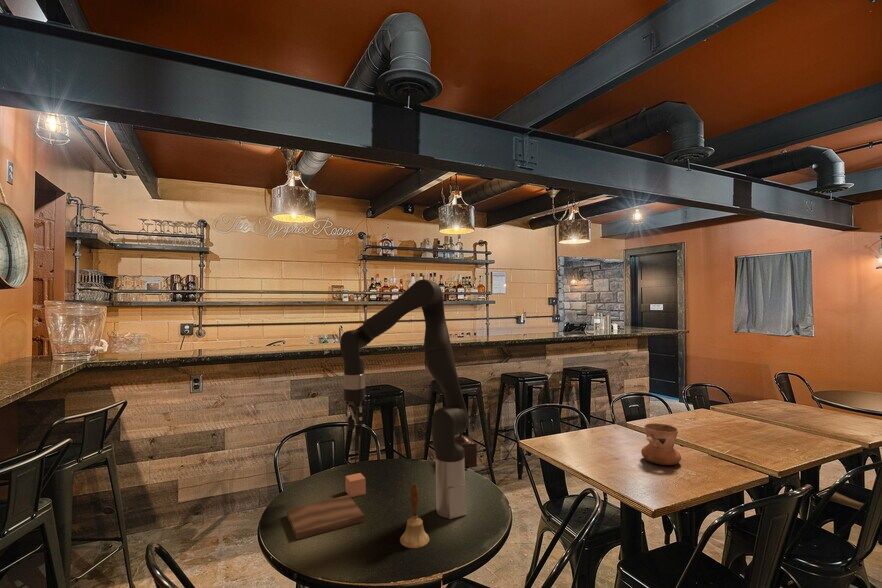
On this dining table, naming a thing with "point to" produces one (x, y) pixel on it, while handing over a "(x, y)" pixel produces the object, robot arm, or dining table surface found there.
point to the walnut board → (324, 516)
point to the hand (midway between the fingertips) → (354, 432)
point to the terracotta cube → (355, 485)
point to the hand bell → (414, 524)
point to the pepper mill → (468, 450)
